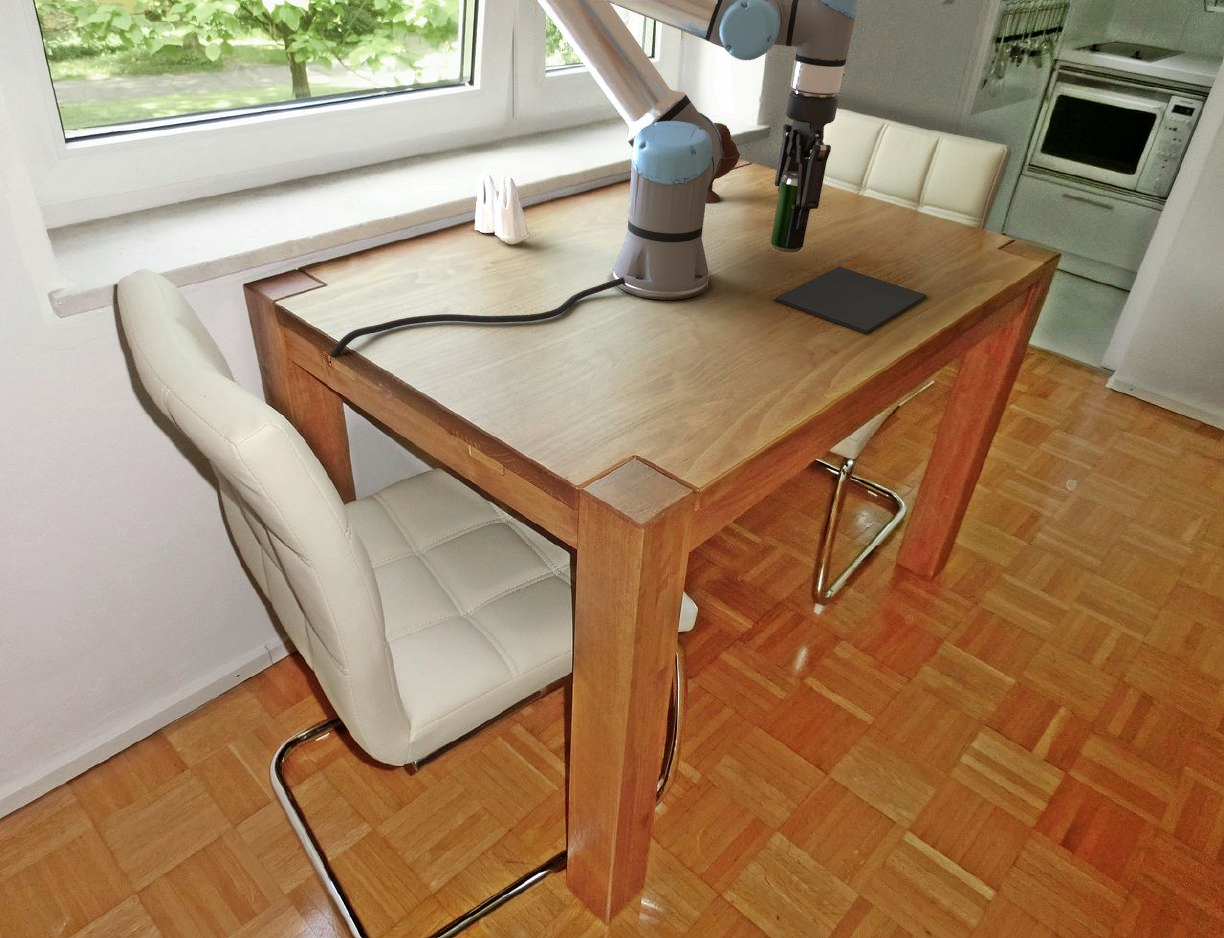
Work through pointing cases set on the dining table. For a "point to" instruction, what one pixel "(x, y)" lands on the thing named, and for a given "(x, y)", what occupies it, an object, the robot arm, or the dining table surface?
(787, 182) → the beer can
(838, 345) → the dining table surface
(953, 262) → the dining table surface
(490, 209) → the shaker set
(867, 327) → the place mat
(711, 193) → the ice cream bowl
